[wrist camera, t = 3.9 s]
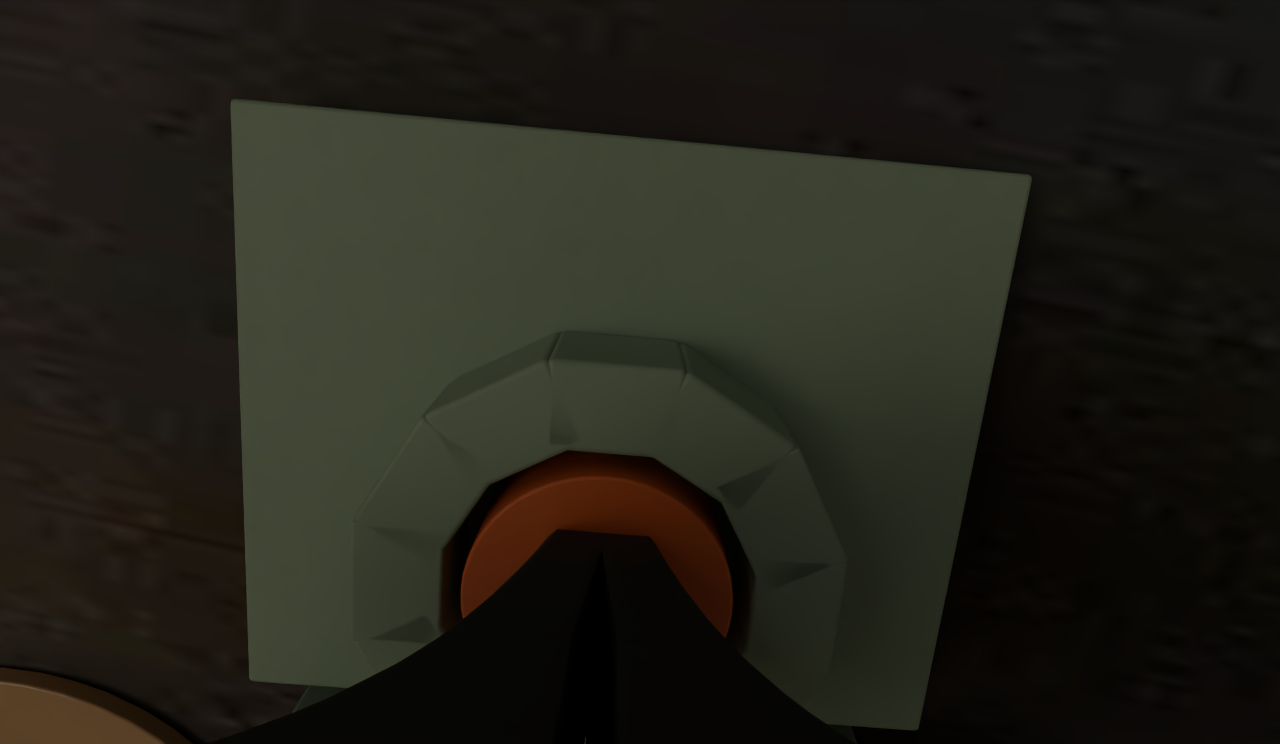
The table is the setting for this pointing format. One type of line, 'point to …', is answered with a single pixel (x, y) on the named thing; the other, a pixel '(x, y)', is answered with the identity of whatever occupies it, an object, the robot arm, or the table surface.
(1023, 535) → the table surface
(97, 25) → the table surface
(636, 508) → the button
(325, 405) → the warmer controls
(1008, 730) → the table surface
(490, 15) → the table surface
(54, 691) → the coaster
